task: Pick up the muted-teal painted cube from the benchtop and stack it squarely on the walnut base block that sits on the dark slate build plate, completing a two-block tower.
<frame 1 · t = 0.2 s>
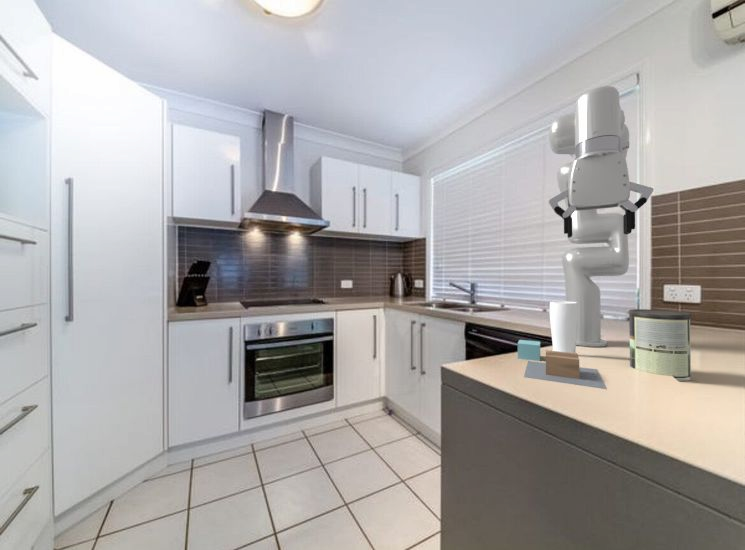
hand: (597, 235, 63), 31 cm above the counter, fingers open, 9 cm apart
white cup: (564, 357, 84), on the counter
build plate: (561, 377, 67), on the counter
coffee can: (658, 374, 69), on the counter
teal block: (529, 361, 80), on the counter
walnut base: (561, 372, 67), point 1 cm above the counter, touching build plate
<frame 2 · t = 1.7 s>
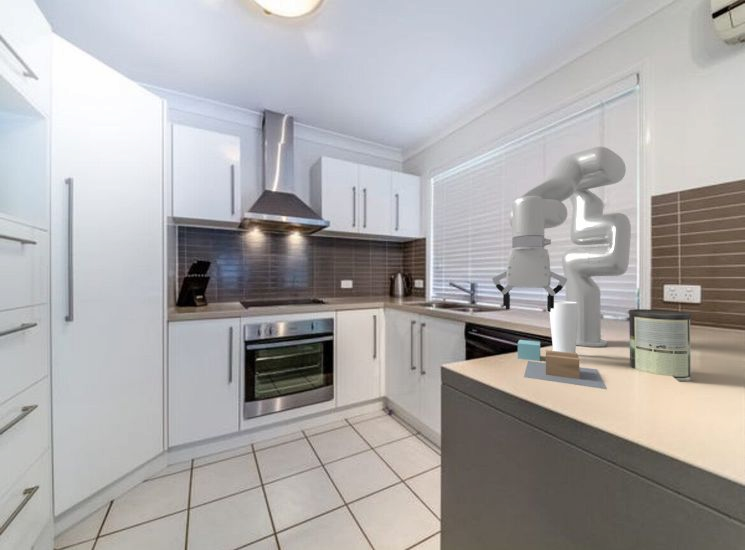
hand: (527, 310, 79), 13 cm above the counter, fingers open, 9 cm apart
nothing on the counter moved.
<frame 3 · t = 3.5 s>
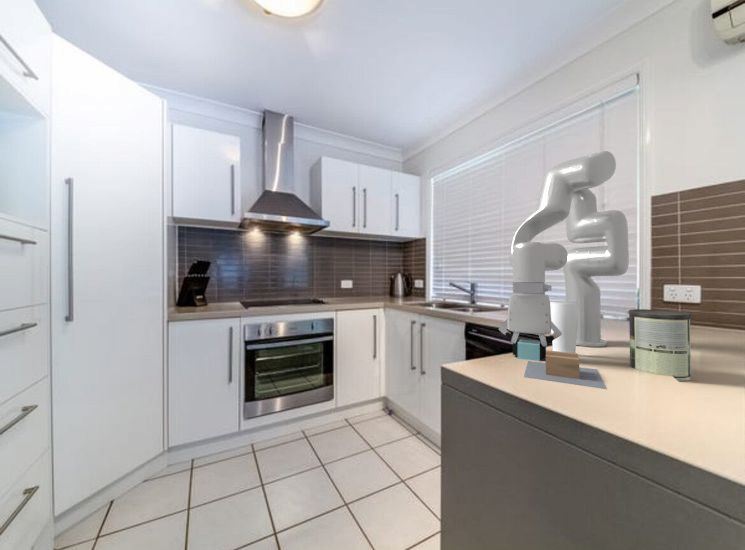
hand: (529, 358, 79), 1 cm above the counter, fingers closed on teal block, 5 cm apart
teal block: (529, 361, 80), on the counter, touching gripper
everything else where it was.
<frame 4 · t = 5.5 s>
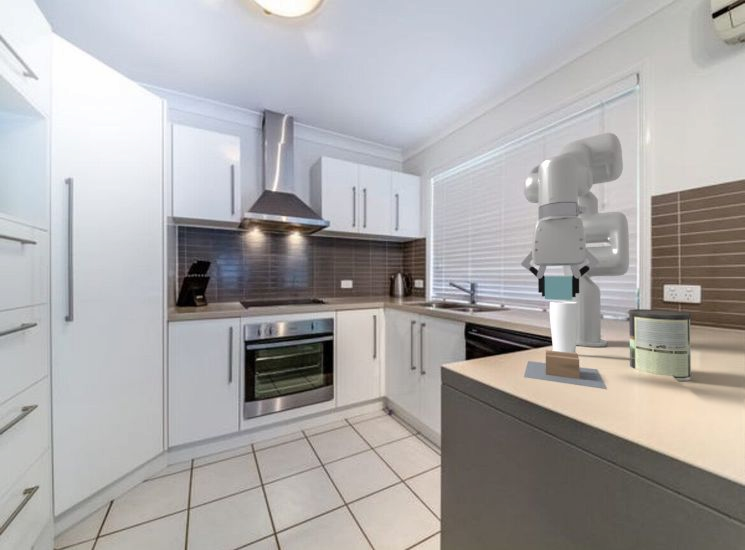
hand: (558, 295, 67), 18 cm above the counter, fingers closed on teal block, 5 cm apart
teal block: (558, 298, 67), point 17 cm above the counter, touching gripper
everything else where it was.
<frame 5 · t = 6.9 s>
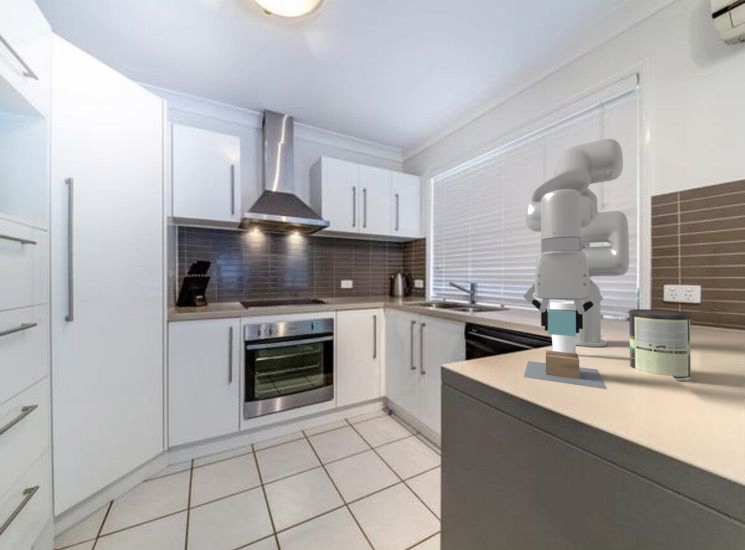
hand: (561, 330, 66), 10 cm above the counter, fingers closed on teal block, 5 cm apart
teal block: (561, 333, 66), point 10 cm above the counter, touching gripper
everything else where it was.
when the fingers open (6 cm above the counter, at t = 8.0 s): teal block stays where it is, resting on walnut base.
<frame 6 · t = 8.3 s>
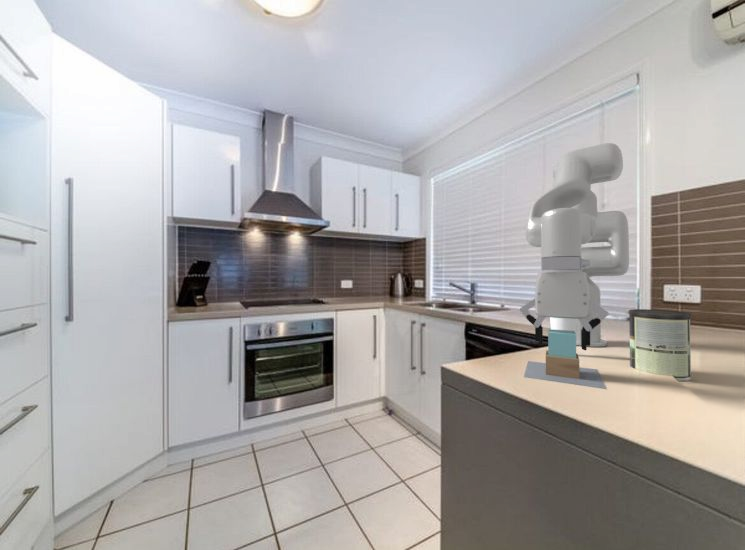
hand: (561, 346, 67), 7 cm above the counter, fingers open, 7 cm apart
teal block: (561, 354, 67), point 5 cm above the counter, touching walnut base
walnut base: (561, 372, 67), point 1 cm above the counter, touching build plate, teal block
everything else where it was.
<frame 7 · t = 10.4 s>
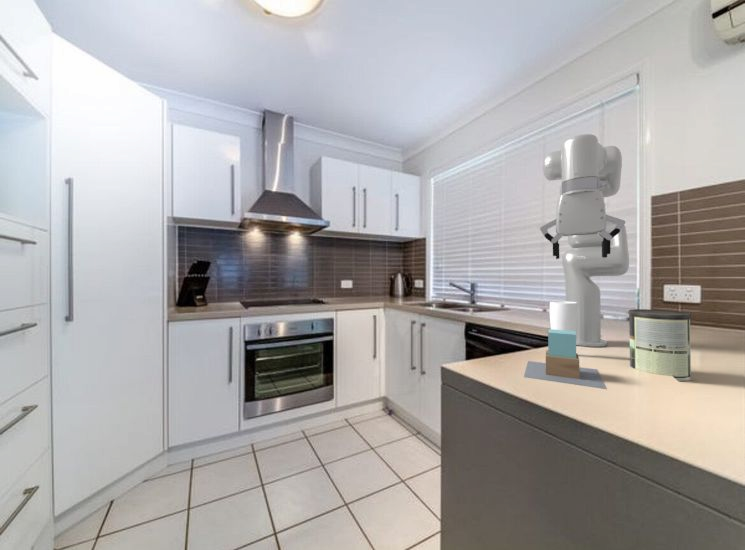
hand: (580, 258, 75), 27 cm above the counter, fingers open, 9 cm apart
nothing on the counter moved.
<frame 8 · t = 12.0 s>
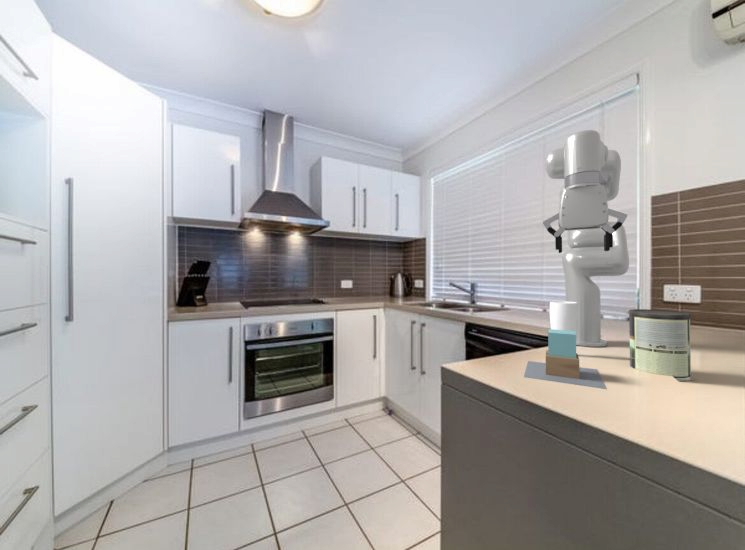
hand: (582, 251, 76), 28 cm above the counter, fingers open, 9 cm apart
nothing on the counter moved.
at the end: teal block 0.0 cm off-centre on the walnut base, point 4.0 cm above the walnut base's base; teal block tilted 0°; walnut base moved 0.0 cm from its start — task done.
